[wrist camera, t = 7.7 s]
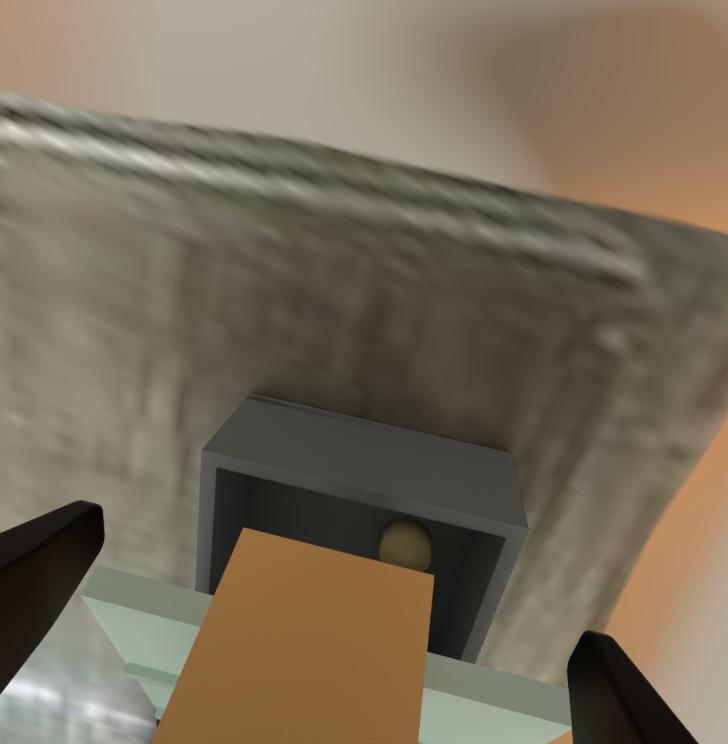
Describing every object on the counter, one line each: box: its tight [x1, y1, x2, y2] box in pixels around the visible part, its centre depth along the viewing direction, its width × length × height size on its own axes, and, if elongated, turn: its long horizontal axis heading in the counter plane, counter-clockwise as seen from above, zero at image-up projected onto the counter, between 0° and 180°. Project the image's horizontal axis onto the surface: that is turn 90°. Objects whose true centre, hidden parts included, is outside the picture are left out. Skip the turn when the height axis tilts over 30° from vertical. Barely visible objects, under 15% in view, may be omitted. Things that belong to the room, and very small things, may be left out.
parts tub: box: [195, 393, 529, 664], centre depth 23 cm, size 18×12×6 cm
